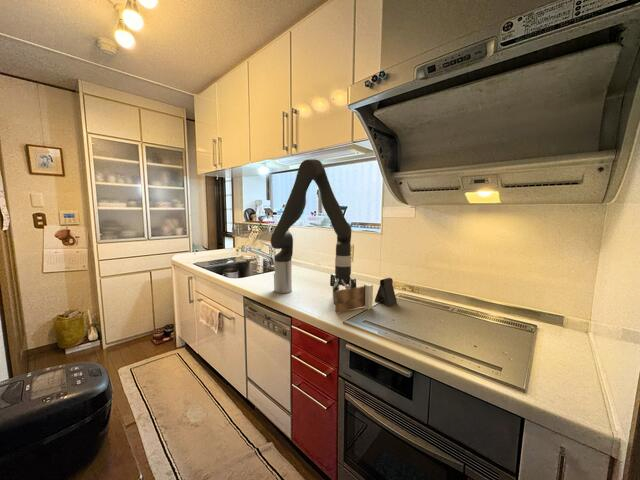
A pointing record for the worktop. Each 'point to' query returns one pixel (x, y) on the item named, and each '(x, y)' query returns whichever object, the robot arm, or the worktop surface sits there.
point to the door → (349, 299)
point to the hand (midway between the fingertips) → (342, 297)
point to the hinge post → (368, 296)
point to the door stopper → (386, 293)
